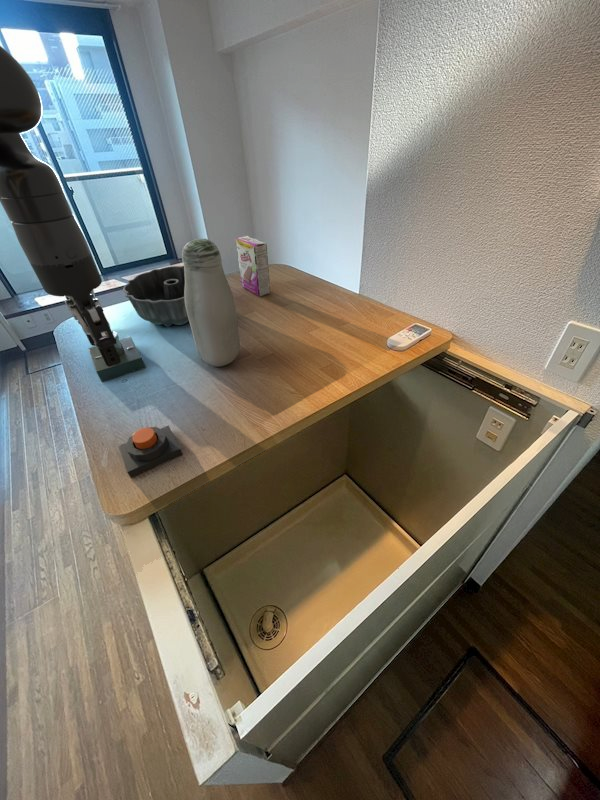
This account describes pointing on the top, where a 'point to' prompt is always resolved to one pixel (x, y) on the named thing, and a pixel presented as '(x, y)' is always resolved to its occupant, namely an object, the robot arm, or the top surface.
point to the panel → (128, 363)
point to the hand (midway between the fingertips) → (105, 353)
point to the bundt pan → (159, 295)
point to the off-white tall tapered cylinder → (210, 303)
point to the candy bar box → (253, 265)
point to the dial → (118, 345)
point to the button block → (150, 452)
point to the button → (144, 438)
